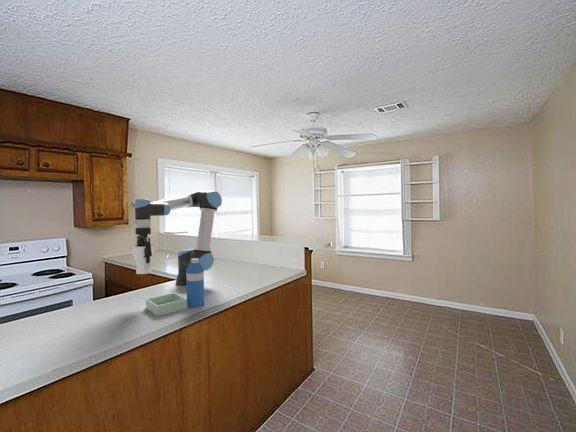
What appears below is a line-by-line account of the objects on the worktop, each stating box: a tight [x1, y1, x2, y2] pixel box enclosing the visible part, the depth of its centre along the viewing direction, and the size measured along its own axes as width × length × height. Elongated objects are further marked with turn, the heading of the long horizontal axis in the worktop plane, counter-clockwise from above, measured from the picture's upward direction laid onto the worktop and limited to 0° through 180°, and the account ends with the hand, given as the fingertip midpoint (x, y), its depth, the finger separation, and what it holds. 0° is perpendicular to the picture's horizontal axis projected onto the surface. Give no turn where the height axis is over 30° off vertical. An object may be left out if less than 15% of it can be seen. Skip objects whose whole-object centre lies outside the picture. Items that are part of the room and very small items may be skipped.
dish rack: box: [145, 292, 188, 317], centre depth 151 cm, size 15×15×5 cm
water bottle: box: [186, 258, 205, 309], centre depth 156 cm, size 9×9×25 cm
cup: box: [132, 243, 155, 275], centre depth 158 cm, size 11×11×15 cm
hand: (143, 267), depth 158 cm, fingers closed on cup, 10 cm apart
